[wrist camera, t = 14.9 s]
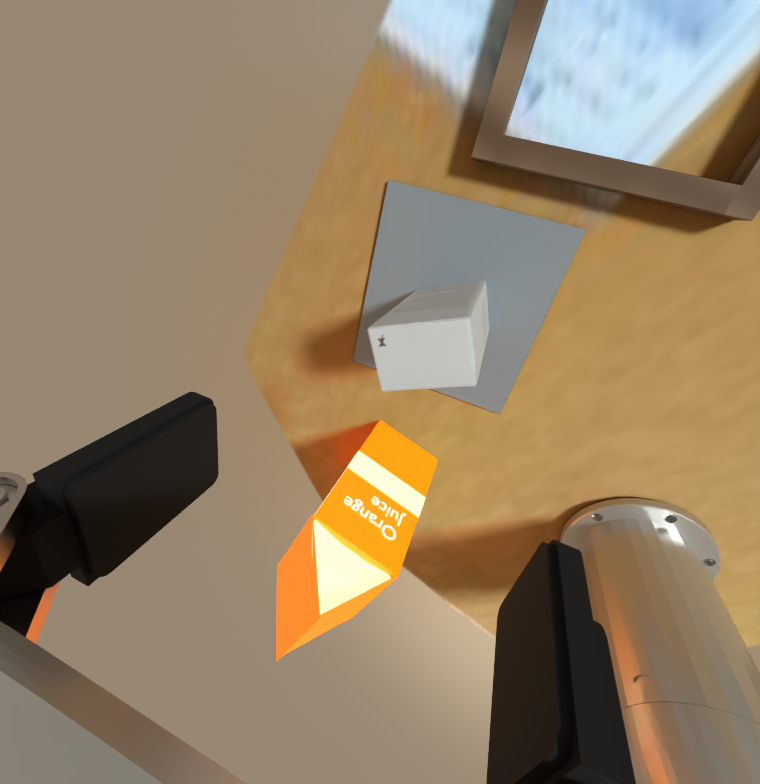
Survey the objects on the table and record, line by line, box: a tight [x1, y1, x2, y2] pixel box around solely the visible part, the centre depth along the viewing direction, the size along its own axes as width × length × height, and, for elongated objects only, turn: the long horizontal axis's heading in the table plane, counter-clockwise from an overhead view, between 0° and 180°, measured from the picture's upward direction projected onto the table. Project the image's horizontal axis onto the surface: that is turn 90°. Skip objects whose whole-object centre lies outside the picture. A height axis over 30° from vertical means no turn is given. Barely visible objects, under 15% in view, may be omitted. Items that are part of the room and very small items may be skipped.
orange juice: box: [276, 420, 438, 661], centre depth 32 cm, size 8×9×20 cm
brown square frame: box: [471, 0, 760, 221], centre depth 20 cm, size 15×17×2 cm
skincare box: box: [367, 280, 489, 391], centre depth 25 cm, size 6×4×12 cm
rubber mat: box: [353, 180, 586, 414], centre depth 31 cm, size 16×15×1 cm
